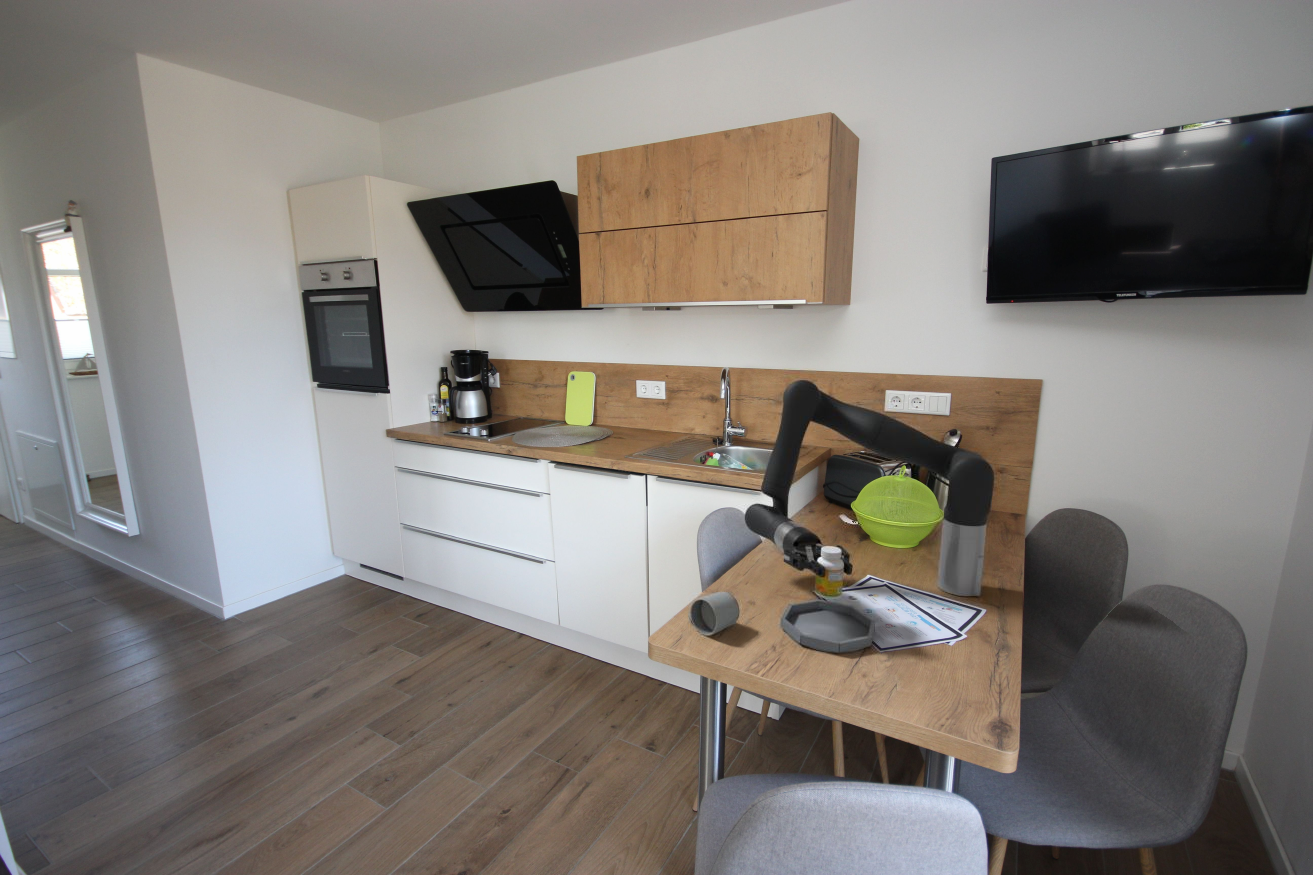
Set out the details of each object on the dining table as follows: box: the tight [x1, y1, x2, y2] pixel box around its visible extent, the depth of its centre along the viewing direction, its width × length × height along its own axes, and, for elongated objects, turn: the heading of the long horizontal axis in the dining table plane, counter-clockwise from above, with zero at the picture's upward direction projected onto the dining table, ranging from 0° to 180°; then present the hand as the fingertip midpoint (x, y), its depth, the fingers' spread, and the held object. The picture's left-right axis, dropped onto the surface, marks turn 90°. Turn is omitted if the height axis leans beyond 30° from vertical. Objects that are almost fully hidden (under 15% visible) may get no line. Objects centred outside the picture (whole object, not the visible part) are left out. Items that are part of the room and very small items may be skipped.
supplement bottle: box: [814, 545, 845, 600], centre depth 124 cm, size 5×5×10 cm
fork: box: [839, 514, 859, 525], centre depth 193 cm, size 3×20×2 cm, turn 43°
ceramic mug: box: [687, 591, 741, 637], centre depth 127 cm, size 11×8×8 cm
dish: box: [780, 598, 877, 654], centre depth 125 cm, size 18×18×2 cm
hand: (836, 571), depth 121 cm, fingers closed on supplement bottle, 5 cm apart
